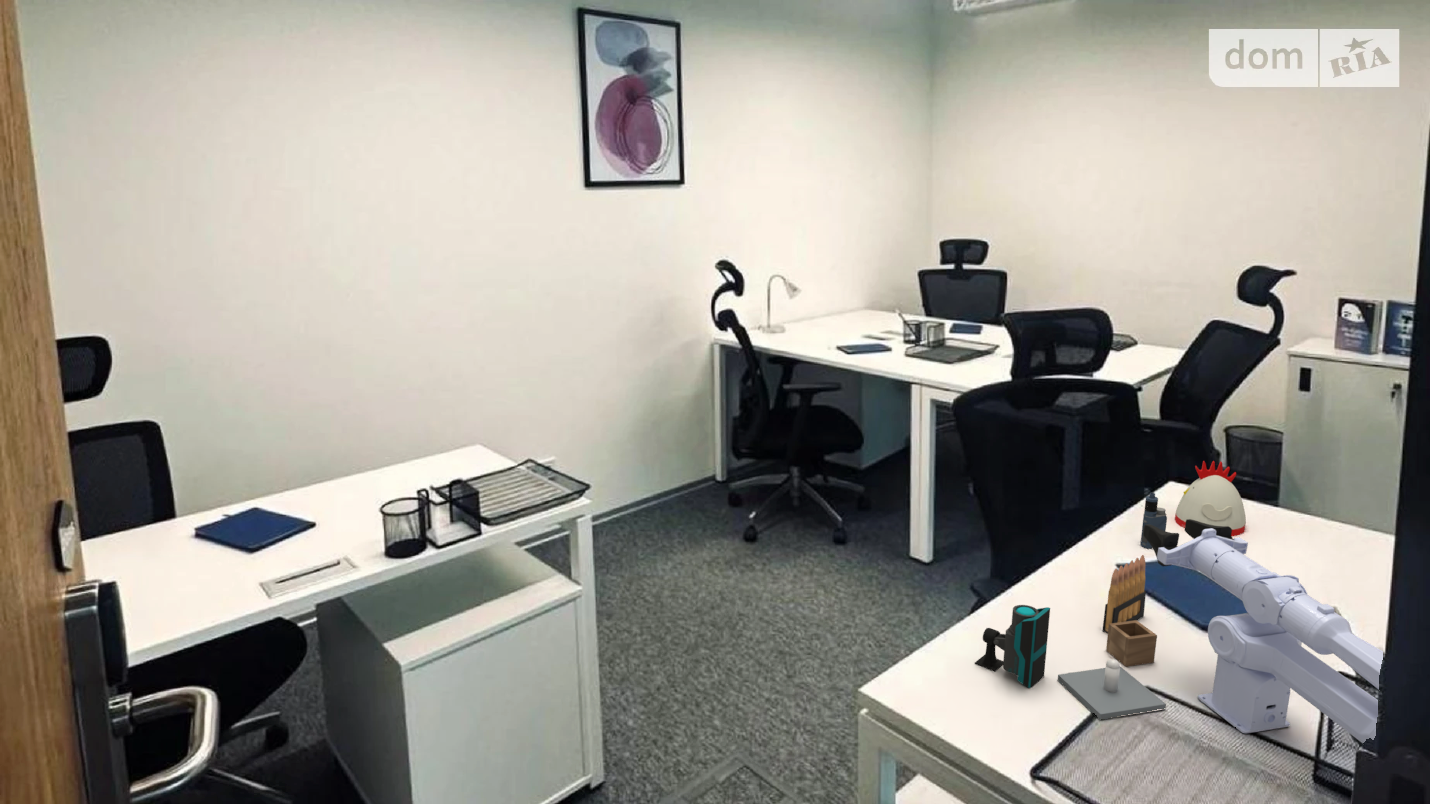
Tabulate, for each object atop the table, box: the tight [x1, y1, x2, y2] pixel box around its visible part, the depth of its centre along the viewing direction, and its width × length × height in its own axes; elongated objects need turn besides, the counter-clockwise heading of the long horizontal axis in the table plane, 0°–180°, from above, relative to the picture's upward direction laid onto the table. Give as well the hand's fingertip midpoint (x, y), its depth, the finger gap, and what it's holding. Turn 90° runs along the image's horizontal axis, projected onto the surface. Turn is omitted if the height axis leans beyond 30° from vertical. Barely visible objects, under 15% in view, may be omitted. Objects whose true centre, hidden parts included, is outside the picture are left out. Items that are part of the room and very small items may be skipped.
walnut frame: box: [1105, 620, 1158, 668], centre depth 149 cm, size 5×5×5 cm
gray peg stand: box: [1057, 658, 1167, 720], centre depth 139 cm, size 11×11×6 cm
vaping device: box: [1139, 492, 1168, 550], centre depth 191 cm, size 3×5×12 cm, turn 107°
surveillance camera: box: [974, 604, 1051, 689], centre depth 145 cm, size 6×12×10 cm
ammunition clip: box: [1102, 554, 1147, 634], centre depth 159 cm, size 11×2×12 cm, turn 127°
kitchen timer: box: [1174, 460, 1247, 537], centre depth 201 cm, size 14×14×15 cm
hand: (1166, 527), depth 148 cm, fingers open, 7 cm apart
